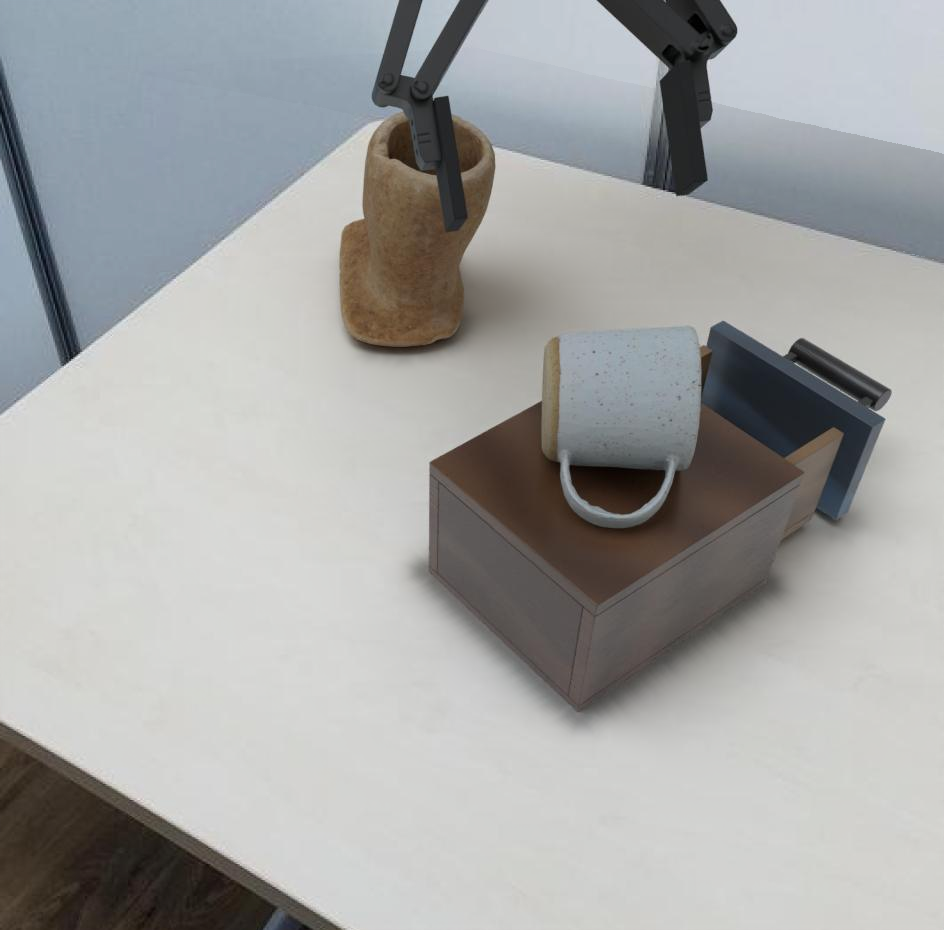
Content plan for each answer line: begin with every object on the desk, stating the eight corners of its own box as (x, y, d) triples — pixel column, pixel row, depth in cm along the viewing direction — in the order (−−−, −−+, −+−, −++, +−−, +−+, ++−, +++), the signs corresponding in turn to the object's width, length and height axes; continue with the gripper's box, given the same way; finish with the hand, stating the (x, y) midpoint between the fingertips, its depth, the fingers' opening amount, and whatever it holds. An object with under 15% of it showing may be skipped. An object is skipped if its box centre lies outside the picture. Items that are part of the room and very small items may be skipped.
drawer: (755, 381, 81) (781, 287, 75) (903, 475, 75) (945, 380, 69) (545, 504, 75) (556, 412, 69) (687, 620, 68) (713, 529, 62)
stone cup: (491, 356, 86) (502, 173, 75) (337, 360, 87) (324, 180, 76) (480, 245, 96) (488, 69, 85) (341, 250, 97) (331, 76, 86)
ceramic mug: (535, 405, 68) (545, 297, 62) (675, 407, 67) (699, 298, 61) (539, 535, 61) (551, 428, 55) (694, 539, 60) (723, 431, 54)
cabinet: (608, 468, 78) (627, 353, 70) (764, 587, 70) (805, 472, 63) (428, 574, 72) (428, 461, 65) (577, 715, 65) (597, 605, 57)
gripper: (706, -175, 66) (757, 192, 67) (286, -119, 64) (349, 257, 66) (765, -264, 58) (821, 151, 60) (291, -204, 56) (363, 222, 58)
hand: (575, 207), depth 63 cm, fingers open, 13 cm apart
